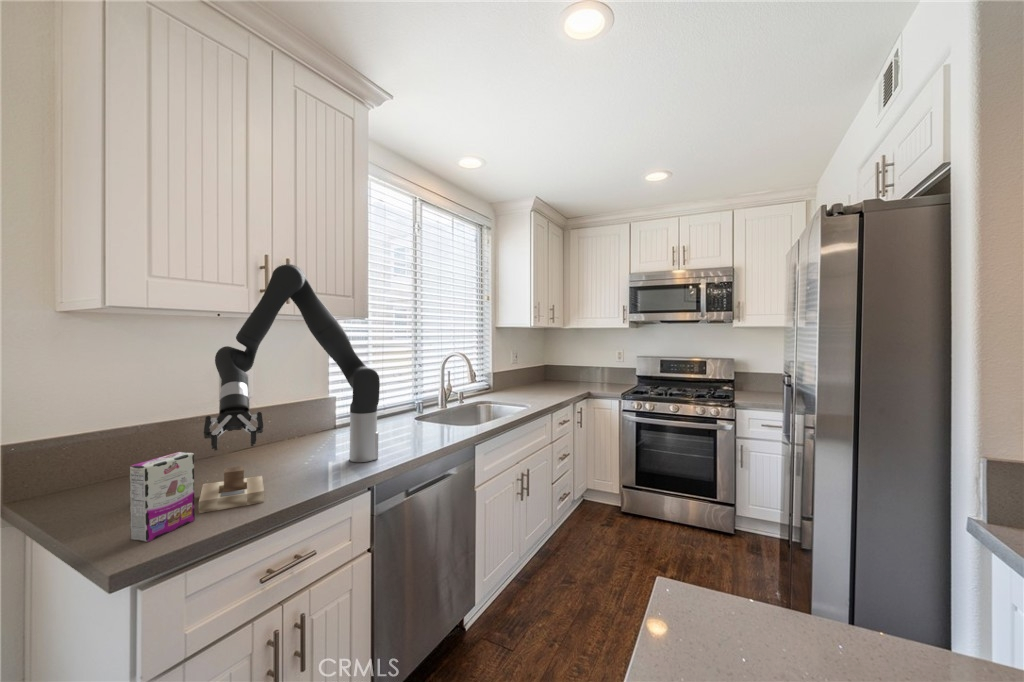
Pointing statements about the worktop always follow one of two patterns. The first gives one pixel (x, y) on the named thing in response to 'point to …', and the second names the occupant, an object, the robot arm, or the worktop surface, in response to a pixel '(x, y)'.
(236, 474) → the walnut post
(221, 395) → the robot arm
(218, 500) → the socket plate
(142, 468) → the candy bar box
